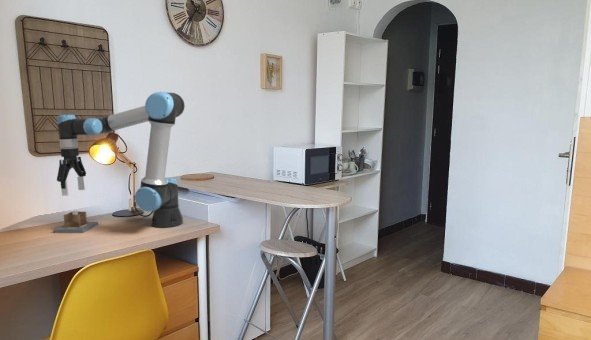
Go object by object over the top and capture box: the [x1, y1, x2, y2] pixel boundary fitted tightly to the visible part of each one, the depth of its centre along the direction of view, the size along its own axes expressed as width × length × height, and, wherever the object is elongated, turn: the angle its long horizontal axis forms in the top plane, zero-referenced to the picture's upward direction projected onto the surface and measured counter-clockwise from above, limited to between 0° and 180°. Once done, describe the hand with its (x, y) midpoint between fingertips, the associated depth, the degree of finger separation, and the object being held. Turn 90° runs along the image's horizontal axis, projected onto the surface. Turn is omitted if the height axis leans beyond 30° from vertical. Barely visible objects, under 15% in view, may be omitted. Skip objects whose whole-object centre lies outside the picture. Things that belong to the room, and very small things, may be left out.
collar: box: [63, 211, 88, 228], centre depth 207 cm, size 7×7×6 cm
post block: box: [53, 210, 99, 234], centre depth 207 cm, size 14×14×8 cm
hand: (73, 192), depth 205 cm, fingers open, 13 cm apart
